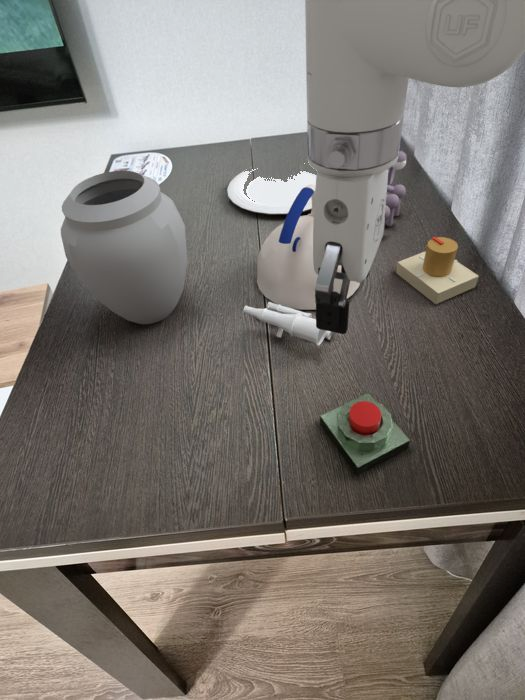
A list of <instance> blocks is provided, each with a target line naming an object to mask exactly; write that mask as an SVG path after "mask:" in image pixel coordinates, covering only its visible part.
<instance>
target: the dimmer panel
mask: <svg viewBox="0 0 525 700" xmlns="http://www.w3.org/2000/svg"><path fill="white" fill-rule="evenodd" d="M425 253H426V250H425V251H422V252H419V253H417V254H415V255H414V254H413V255H412V256H410V257H407V258H404V259H402V260H399V261H397V262H396V269H395V274H397V275H398V276H399V277H400V278H402V279H403V280H404V281H405V282H406V283H408V284H409V285H410V286H411V287H413V288H414V289H415V290H416V291H418V292H420V294H422V295H423V296H424V297H426V298H427V299H428V300H429V301H430V302H432V303H433V304H434V305H437V304H440V303H442V302H445V301H447V300H449V299H451V298H454V297H456V296H458V295H461V294H463V293H465V292H468V291H470V290H472V289H475V288H476V286H477V283H478V280H479V277H480V276H479V275H478V274H477V273H475V272H474V271H472V270H471V269H469V268H468V267H466V266H464V265H463V264H462V263H461V262H459V260H458V259H455V260H454V264H453V267H452V271H451V273H450V274H448V275H446V276H442V277H436V276H431V275H429V274H427V273H426V272H425V271H424V270H423V263H424V258H425Z"/></svg>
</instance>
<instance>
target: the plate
mask: <svg viewBox="0 0 525 700" xmlns="http://www.w3.org/2000/svg"><path fill="white" fill-rule="evenodd" d="M304 164H305V163H304ZM257 169H258V168H257ZM254 170H256V169H254ZM254 170H253V169H252V171H254ZM244 171H245V170H243V171H242V172H240V173H238V174H237V175H235V176H234V177H233V178H232V179H231V181H230V182H229V184H228V186H227V187H226V188H227V189H226V191H227V197H228V199H229V200H230V201H231V202H232V203H233V205H235V206H237V207H238V208H240V209H243V210H245V211H248V212H251V213H255V214H261V215H262V214H263V215H274V216H275V215H287V214H288V212H289V210H290V208H291V206H292V204H293V202H294V201H295V199H296V197H297V195H298V194H299V193H300V191H301V190H302V189H303V188H304V187H306V186H307V185H310V184H313V185H316V175H315V174H312V173H309V172H306V171H303V172H302V171H300V173H301V174H299V173H298V174H297V176H295V175H294V176H293V179H291V177H290V179H289V177H288V179H287V180H288V181H287V182H284V181H283V180H282V181H281V179H274V178H273V179H272V177H271V179H272V181H271V179H270V178H269V179H270V181H269V180H268V181H267V179H268V178H267V179H266V178H263V177H262V178H261V177H260V176H259V177H257V178H256V179H254V180H253V181H251V182H250V183H249V185H248V186H247V189H246V193H247V196H248V197H249V198H250V199H249V198H248V197H247V196H246V195H245V194H244V191H243V189H244V184H245V182H246V181H247V178H248V176H249V175H248V174H249V173H250V172H252V171H250V172H249V171H245V172H244ZM250 174H251V173H250ZM291 176H292V175H291ZM264 179H266V181H265V180H264ZM294 179H295V180H294ZM273 180H275V181H276V182H275V181H273ZM252 200H253V201H252ZM254 201H255V202H254ZM310 210H312V199H311V198H310V199H309V200H308V202H307V204H306V206H305V207H304V209H303V211H302V213H303V212H307V211H310Z"/></svg>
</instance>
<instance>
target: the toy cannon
mask: <svg viewBox="0 0 525 700" xmlns="http://www.w3.org/2000/svg"><path fill="white" fill-rule="evenodd" d="M242 312H243V314H244V315H245V314H246V315H249V316H252V317H253V318H256V319H257V320H259V321H260V322H261V323H266V324H269V325H272V326H274V327H278V329H277V332H276V334H275V335H276V336H275V337H277V338H282V336H283V332H284V331H285V332H286V333H288V334H289V335H290V337H292V338H296V337H297V338H300V339H303V340H305V341H308V342H311V343H314V344H315V345H316V346H318V347H319V346H321V344H322V343H323V341H324V340H325V339H326V340H330V339H331V338H332V335H333V332H331V331H326V330H321V329H318V328H317V327H316V318H313V317H312V316H313V314H312V313H311V312H305V311H302V310H299V309H292V308H288V307H284V306H281V305H280V304H276V303H274V302H272V301H268V302H267V304H266V307H265V308H255V307H253V306H248V305H244V307H243V310H242Z"/></svg>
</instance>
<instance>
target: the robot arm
mask: <svg viewBox="0 0 525 700" xmlns="http://www.w3.org/2000/svg"><path fill="white" fill-rule="evenodd" d="M304 8H305V9H304V11H305V14H304V15H305V17H304V18H305V19H304V20H305V75H306V76H305V77H306V80H305V81H306V83H305V84H306V130H307V132H306V134H307V135H306V136H307V137H306V139H307V140H306V141H307V142H306V143H307V160H308V163H309V165H310V166H311V167H312V168H313V169H315V170H316V171H317V175H316V187H315V195H314V197H315V202H314V222H313V264H314V270H315V272H316V274H317V275H318V278H317V281H316V285H315V303H316V310H315V319H316V327H317V328H318V329H321V330H326V331H331V332H332V333H335V334H340V335H345V334H347V332H348V329H349V318H350V317H349V314H350V301H349V300H347V299H348V298H347V294H348V289H349V285H350V281H355V282H357V283H360V284H361V283H362V282H363V281H364V280H366V278H368V277H369V276H370V272H371V268H372V266H373V265H372V264H373V263H374V261H375V258H376V256H377V252H378V250H379V247H380V244H381V242H382V239H383V237H384V235H383V231H384V232H385V225H384V221H385V222H386V219H385V207H386V195H387V194H388V192H387V183H388V169H389V168H390V167H392V166H393V165H394V164H395V163H396V162H397V160H398V155H399V151H400V147H401V139H402V132H403V126H404V125H403V124H404V117H405V116H404V115H405V109H406V102H407V94H408V86H409V81H410V80H409V79H411V80H415V81H419V82H422V83H426V84H431V85H434V86H435V85H436V86H441V87H446V88H447V87H448V88H469V87H474V86H478V85H482V84H485V83H486V82H489V81H492V80H493V79H496V78H497V77H499V76H500V75H502V74H503V73H505V72H506V71H508V70H509V69H510V68H512V66H513V65H515V64H516V63H517V62H518V60H519V59H520V58H521V57H522V56H523V55H524V53H525V0H304ZM382 236H383V237H382ZM338 265H341V272H342V273H341V272H337V269H338ZM334 279H340V280H343V281H342V286H341V291H340V294H339V293H338V292H335V291H333V289H334V287H333V284H334Z"/></svg>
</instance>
